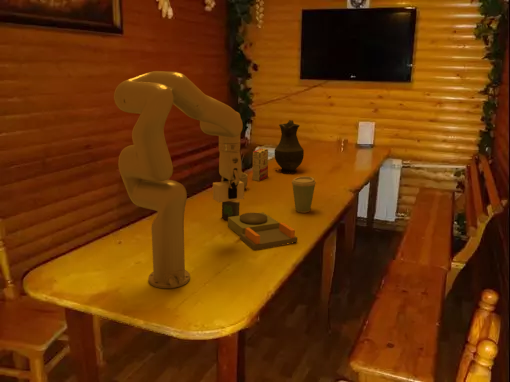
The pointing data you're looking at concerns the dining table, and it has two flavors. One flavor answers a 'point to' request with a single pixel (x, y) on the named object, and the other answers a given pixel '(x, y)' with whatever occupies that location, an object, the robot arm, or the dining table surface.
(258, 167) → the candy bar box
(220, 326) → the dining table surface
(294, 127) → the pitcher
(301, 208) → the disposable coffee cup
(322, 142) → the dining table surface
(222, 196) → the pale beige box
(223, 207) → the flask
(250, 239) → the tray with orange tabs
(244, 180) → the teacup
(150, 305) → the dining table surface
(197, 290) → the dining table surface
